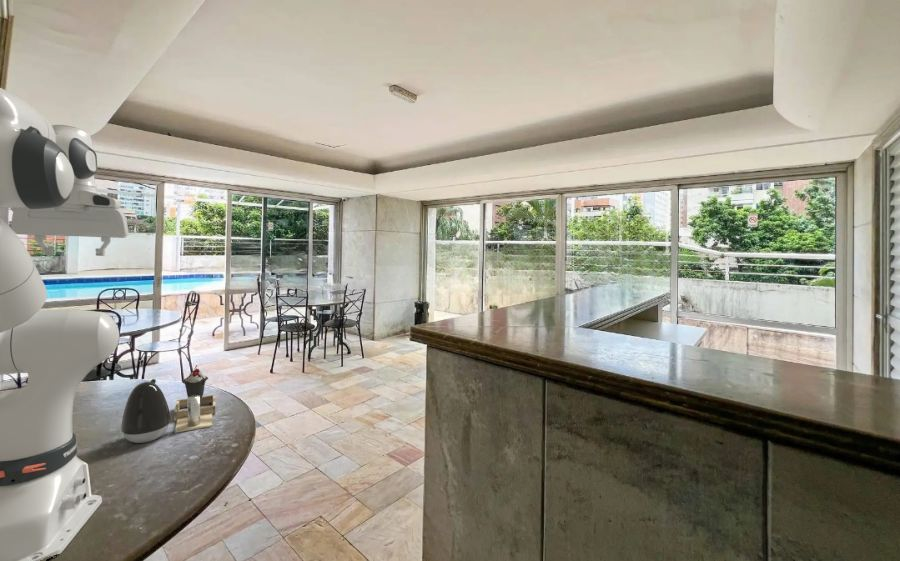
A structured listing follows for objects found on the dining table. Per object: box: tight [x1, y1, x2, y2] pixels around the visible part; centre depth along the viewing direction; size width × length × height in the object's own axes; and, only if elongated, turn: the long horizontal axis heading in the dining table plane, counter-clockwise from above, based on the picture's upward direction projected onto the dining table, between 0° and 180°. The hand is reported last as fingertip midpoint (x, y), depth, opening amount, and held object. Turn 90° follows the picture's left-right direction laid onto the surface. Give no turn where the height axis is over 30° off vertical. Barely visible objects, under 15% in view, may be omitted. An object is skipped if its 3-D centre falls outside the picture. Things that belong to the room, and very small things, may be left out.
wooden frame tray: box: [173, 394, 216, 434], centre depth 115 cm, size 19×10×8 cm, turn 31°
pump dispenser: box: [120, 378, 171, 444], centre depth 101 cm, size 10×10×15 cm
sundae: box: [181, 364, 209, 408], centre depth 118 cm, size 7×7×15 cm
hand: (74, 255), depth 94 cm, fingers open, 8 cm apart
